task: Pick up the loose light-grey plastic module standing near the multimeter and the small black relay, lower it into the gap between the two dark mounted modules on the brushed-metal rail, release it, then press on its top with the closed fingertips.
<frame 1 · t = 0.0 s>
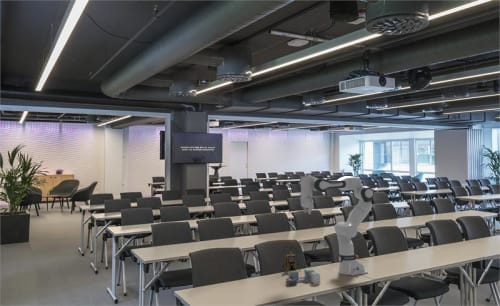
hand: (307, 213, 303), 48 cm above the table, fingers open, 8 cm apart
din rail: (301, 280, 289), on the table
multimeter: (293, 272, 314), on the table
module: (316, 282, 282), on the table
relay: (291, 285, 279), on the table
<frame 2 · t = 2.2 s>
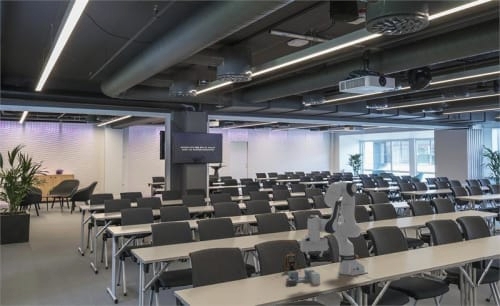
hand: (314, 257, 282), 18 cm above the table, fingers open, 8 cm apart
nothing on the table moved.
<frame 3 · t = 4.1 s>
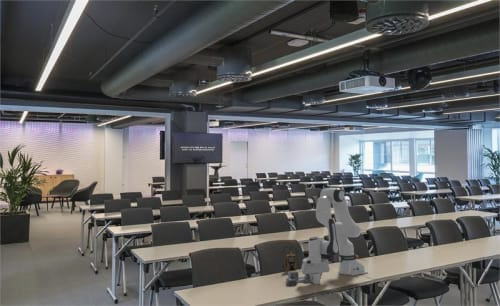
hand: (315, 279, 282), 3 cm above the table, fingers closed on module, 4 cm apart
module: (316, 282, 282), on the table, touching gripper
everything else where it was.
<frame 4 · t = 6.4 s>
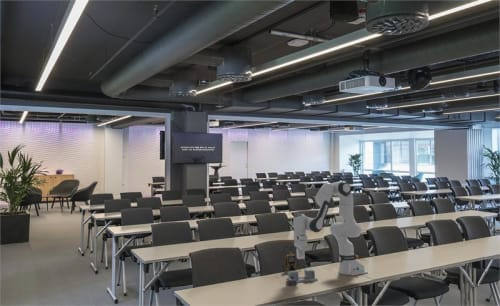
hand: (300, 254, 290), 19 cm above the table, fingers closed on module, 4 cm apart
module: (300, 258, 289), point 16 cm above the table, touching gripper
everything else where it was.
when the fingers open (5 cm above the table, at t = 8.7 s): module drops 1 cm, resting on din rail.
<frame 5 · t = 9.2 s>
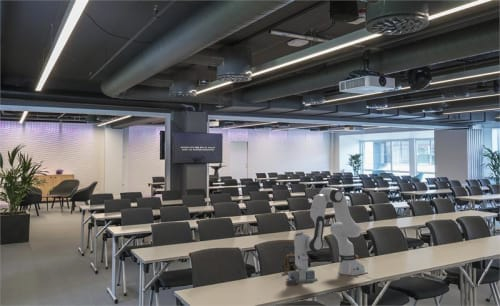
hand: (301, 273, 289), 5 cm above the table, fingers open, 8 cm apart
module: (301, 279, 289), point 1 cm above the table, touching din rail
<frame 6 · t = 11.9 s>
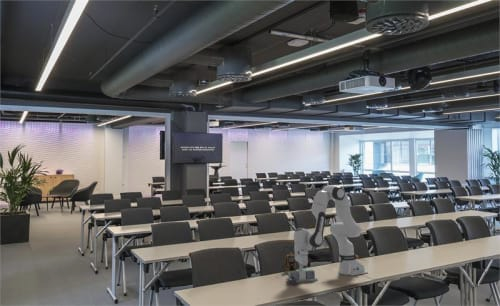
hand: (301, 269, 289), 8 cm above the table, fingers closed
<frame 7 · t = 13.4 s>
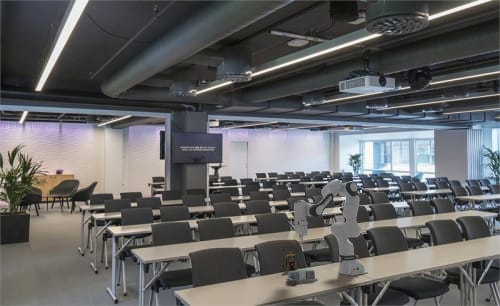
hand: (301, 239, 297), 29 cm above the table, fingers closed
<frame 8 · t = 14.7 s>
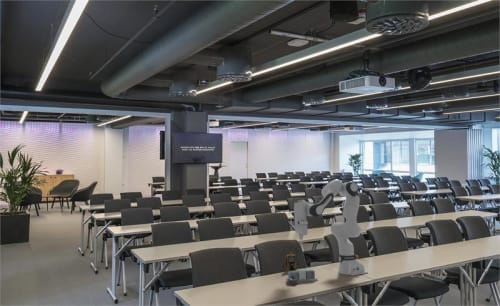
hand: (301, 239, 297), 29 cm above the table, fingers closed
at the end: module 0.1 cm off-centre on the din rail, point 1.0 cm above the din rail's base; module tilted 0°; the gripper is holding nothing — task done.
